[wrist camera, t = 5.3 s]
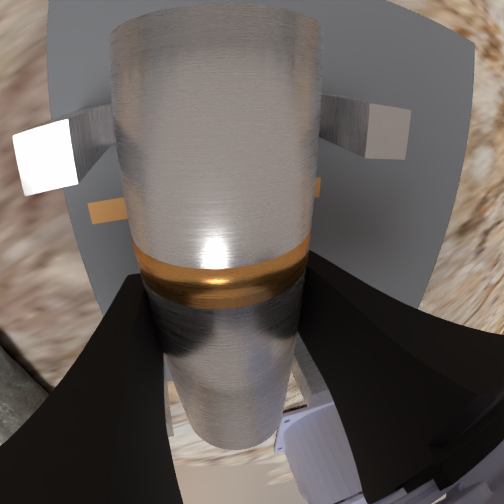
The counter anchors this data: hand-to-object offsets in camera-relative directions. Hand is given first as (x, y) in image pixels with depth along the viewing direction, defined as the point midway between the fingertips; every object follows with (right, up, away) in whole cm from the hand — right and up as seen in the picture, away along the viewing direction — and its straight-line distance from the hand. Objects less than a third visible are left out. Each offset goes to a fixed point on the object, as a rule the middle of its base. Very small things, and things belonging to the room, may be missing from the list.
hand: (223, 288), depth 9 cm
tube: (0, +1, +1) cm, 2 cm away
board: (+3, +3, +3) cm, 5 cm away
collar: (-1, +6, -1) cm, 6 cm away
